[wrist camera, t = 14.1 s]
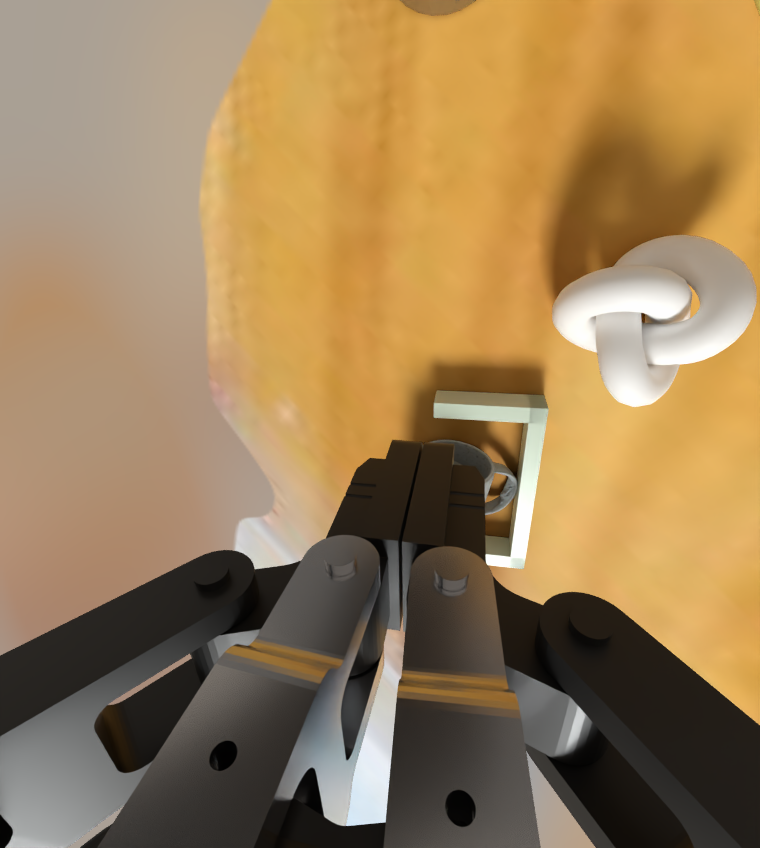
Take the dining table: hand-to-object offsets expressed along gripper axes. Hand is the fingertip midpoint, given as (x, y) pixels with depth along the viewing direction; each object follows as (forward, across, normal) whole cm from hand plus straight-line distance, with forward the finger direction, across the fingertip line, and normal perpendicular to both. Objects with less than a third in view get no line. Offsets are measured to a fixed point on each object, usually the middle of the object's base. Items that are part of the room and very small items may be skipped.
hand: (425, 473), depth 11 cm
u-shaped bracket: (+31, +3, -21) cm, 37 cm away
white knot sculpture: (+31, +12, -2) cm, 34 cm away
